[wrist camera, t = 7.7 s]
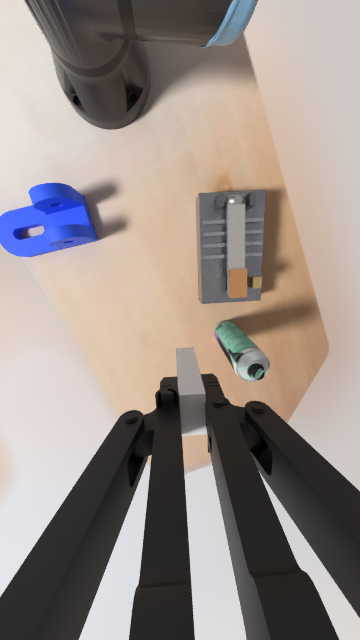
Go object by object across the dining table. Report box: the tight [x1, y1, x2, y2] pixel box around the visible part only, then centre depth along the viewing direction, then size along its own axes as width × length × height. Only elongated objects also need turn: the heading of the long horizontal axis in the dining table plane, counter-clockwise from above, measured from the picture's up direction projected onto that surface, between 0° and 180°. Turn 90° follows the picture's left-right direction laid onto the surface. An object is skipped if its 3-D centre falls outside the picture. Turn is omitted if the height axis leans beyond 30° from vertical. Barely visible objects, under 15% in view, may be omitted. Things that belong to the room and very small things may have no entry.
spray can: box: [214, 321, 270, 382], centre depth 40 cm, size 6×6×20 cm
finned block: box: [196, 190, 266, 304], centre depth 41 cm, size 20×12×9 cm, turn 3°
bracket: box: [0, 183, 98, 257], centre depth 38 cm, size 18×8×9 cm, turn 103°
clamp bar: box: [226, 194, 247, 298], centre depth 37 cm, size 17×3×3 cm, turn 3°
